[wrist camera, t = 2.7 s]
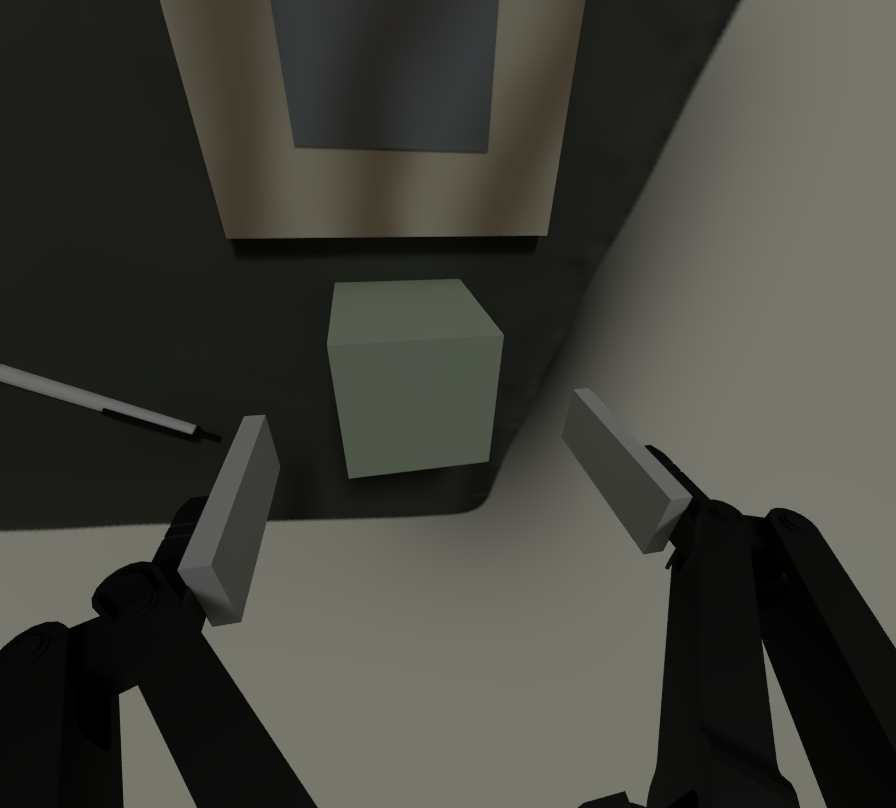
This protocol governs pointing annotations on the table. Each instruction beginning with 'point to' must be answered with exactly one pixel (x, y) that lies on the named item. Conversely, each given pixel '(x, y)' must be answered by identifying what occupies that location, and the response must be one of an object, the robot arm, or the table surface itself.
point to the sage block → (412, 375)
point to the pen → (103, 404)
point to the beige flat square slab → (378, 113)
